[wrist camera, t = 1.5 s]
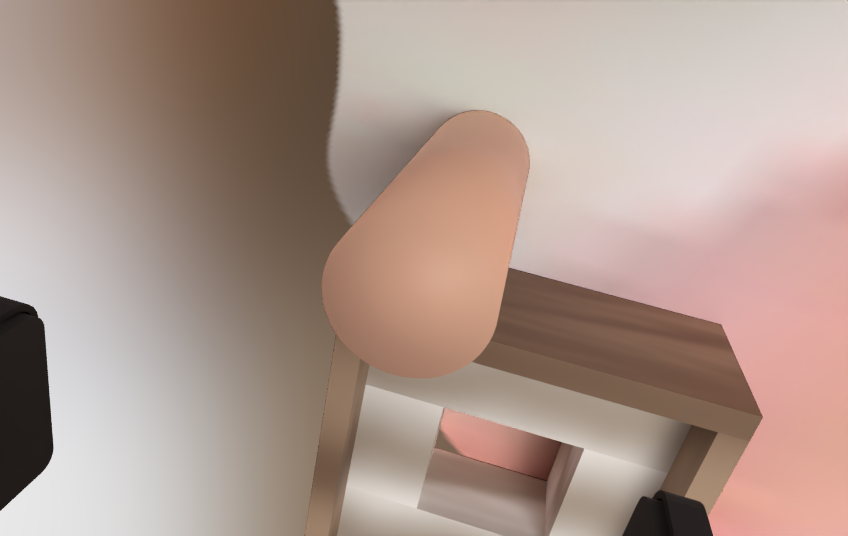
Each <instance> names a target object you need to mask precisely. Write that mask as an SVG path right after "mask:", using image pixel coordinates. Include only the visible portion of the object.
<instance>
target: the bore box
mask: <svg viewBox="0 0 848 536" xmlns="http://www.w3.org/2000/svg"><path fill="white" fill-rule="evenodd" d="M445 408H448V409H451V410H454V411H458V412H461V413H465V414H468V415H471V416H475V417H478V418H482V419H485V420H488V421H492V422H495V423H499V424H502V425H505V426H509V427H512V428H516V429H519V430H522V431H526V432H529V433H533V434H536V435H539V436H543V437H546V438H550V439H553V440H556V441H560V442H562V443H561V446H560V448H559V451H558V453H557V456H556V459H555V461H554V464H553V466H552V469H551V472H550V474H549V477H548V480H547V481H544V480H540V479H537V478H534V477H530V476H527V475H524V474H520V473H517V472H514V471H511V470H507V469H504V468H501V467H497V466H494V465H491V464H487V463H484V462H481V461H477V460H474V459H471V458H467V457H464V456H461V455H457V454H454V453H451V452H447V451H444V450H441V449H438V448H434V446H435V443H436V439H437V435H438V431H439V428H440V424H441V420H442V416H443V413H444V409H445ZM762 418H763V417H762V414H761V412H760V410H759V408H758V405H757V403H756V401H755V399H754V396H753V394H752V392H751V390H750V388H749V385H748V383H747V381H746V379H745V376H744V374H743V372H742V370H741V368H740V365H739V363H738V361H737V359H736V356H735V354H734V352H733V350H732V347H731V345H730V343H729V341H728V339H727V336H726V334H725V332H724V330H723V327H722V325H720V324H716V323H712V322H709V321H705V320H701V319H697V318H694V317H690V316H686V315H682V314H679V313H675V312H671V311H668V310H664V309H660V308H656V307H653V306H649V305H645V304H641V303H638V302H634V301H630V300H627V299H623V298H619V297H615V296H612V295H608V294H604V293H600V292H597V291H593V290H589V289H585V288H582V287H578V286H574V285H571V284H567V283H563V282H559V281H556V280H552V279H548V278H544V277H541V276H537V275H533V274H530V273H526V272H522V271H518V270H515V269H511V268H508V273H507V278H506V282H505V287H504V292H503V297H502V301H501V306H500V311H499V316H498V321H497V325H496V328H495V331H494V334H493V336H492V338H491V340H490V342H489V343H488V345H487V346H486V348H485V349H484V350H483V352H482V353H481V354H480V355H479V356H478V357H477V358H476V359H475V360H473V361H472V362H471V363H469V364H468V365H467V366H465V367H463V368H461V369H459V370H457V371H455V372H453V373H450V374H447V375H443V376H439V377H434V378H407V377H401V376H397V375H392V374H390V373H387V372H384V371H381V370H379V369H377V368H375V367H373V366H371V365H369V364H368V363H366V362H364V361H363V360H361V359H360V358H359V357H358V356H356V355H355V354H354V353H353V352H352V351H350V350H349V349H348V348H347V347H346V346H345V345H344V343H343V342H342V341H341V340H340V339H339V337H338V336H337V334H336V338H335V344H334V350H333V357H332V363H331V370H330V376H329V382H328V389H327V396H326V401H325V408H324V414H323V420H322V427H321V433H320V440H319V446H318V452H317V459H316V466H315V471H314V478H313V484H312V491H311V497H310V503H309V510H308V517H307V522H306V529H305V535H304V536H622V535H623V533H624V531H625V529H626V526H627V524H628V522H629V520H630V518H631V516H632V514H633V512H634V509H635V507H636V505H637V503H638V501H639V500H640V498H641V497H642V496H646V497H649V498H653V496H654V495H655V493H656V492H657V491H659V490H663V491H666V492H669V493H673V494H676V495H680V496H683V497H687V498H690V499H693V500H697V501H700V502H701V503H702V504H703V505H704V507H705V510H706V513H707V516H708V515H709V513H710V511H711V510H712V508H713V506H714V504H715V502H716V501H717V499H718V497H719V495H720V493H721V492H722V490H723V488H724V486H725V484H726V483H727V481H728V479H729V477H730V475H731V474H732V472H733V470H734V468H735V466H736V465H737V463H738V461H739V459H740V457H741V456H742V454H743V452H744V450H745V448H746V447H747V445H748V443H749V441H750V439H751V438H752V436H753V434H754V432H755V430H756V429H757V427H758V425H759V423H760V421H761V420H762Z"/></svg>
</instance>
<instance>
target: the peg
mask: <svg viewBox="0 0 848 536" xmlns="http://www.w3.org/2000/svg"><path fill="white" fill-rule="evenodd" d="M529 166H530V158H529V151H528V147H527V144H526V142H525V140H524V138H523V136H522V134H521V133H520V131H519V130H518V129H517V128H516V127H515V126H514V125H513V124H512V123H511V122H510V121H509V120H507V119H505V118H504V117H502V116H500V115H498V114H495V113H492V112H488V111H479V110H475V111H467V112H463V113H460V114H458V115H455V116H454V117H452V118H450V119H449V120H447V121H446V122H445V123H444V124H443V125H442V126H441V127H440V128H439V129H438V130H437V131H436V132H435V133H434V134H433V136H432V137H431V138H430V139H429V140H428V141H427V142H426V143H425V145H424V146H423V147H422V148H421V149H420V150H419V151H418V152H417V154H416V155H415V156H414V157H413V158H412V159H411V160H410V161H409V163H408V164H407V165H406V166H405V167H404V168H403V169H402V170H401V172H400V173H399V174H398V175H397V176H396V177H395V178H394V179H393V181H392V182H391V183H390V184H389V185H388V186H387V187H386V188H385V190H384V191H383V192H382V193H381V194H380V195H379V196H378V197H377V199H376V200H375V201H374V202H373V203H372V204H371V205H370V206H369V208H368V209H367V210H366V211H365V212H364V213H363V214H362V215H361V217H360V218H359V219H358V220H357V221H356V222H355V223H354V224H353V226H352V227H351V228H350V229H349V230H348V231H347V232H346V234H345V235H344V236H343V237H342V238H341V239H340V240H339V241H338V243H337V244H336V245H335V247H334V248H333V250H332V251H331V253H330V255H329V257H328V259H327V261H326V264H325V267H324V270H323V275H322V285H321V290H322V300H323V305H324V309H325V312H326V315H327V318H328V320H329V322H330V324H331V326H332V328H333V330H334V331H335V333H336V334H337V336H338V337H339V339H340V340H341V341H342V342H343V343H344V345H345V346H346V347H347V348H348V349H349V350H350V351H352V352H353V353H354V354H355V355H356V356H358V357H359V358H360V359H361V360H363V361H364V362H366V363H368V364H369V365H371V366H373V367H375V368H377V369H379V370H381V371H384V372H387V373H390V374H392V375H397V376H401V377H407V378H434V377H439V376H443V375H447V374H450V373H453V372H455V371H457V370H459V369H461V368H463V367H465V366H467V365H468V364H469V363H471V362H472V361H473V360H475V359H476V358H477V357H478V356H479V355H480V354H481V353H482V352H483V350H484V349H485V348H486V346H487V345H488V343H489V342H490V340H491V338H492V336H493V334H494V331H495V328H496V325H497V321H498V316H499V311H500V306H501V301H502V297H503V292H504V287H505V282H506V278H507V273H508V268H509V263H510V258H511V254H512V249H513V244H514V239H515V235H516V230H517V225H518V220H519V215H520V211H521V206H522V201H523V196H524V192H525V187H526V182H527V177H528V172H529Z"/></svg>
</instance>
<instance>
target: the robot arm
mask: <svg viewBox="0 0 848 536" xmlns="http://www.w3.org/2000/svg"><path fill="white" fill-rule="evenodd" d="M50 410H51V409H50V398H49V384H48V370H47V356H46V343H45V330H44V324H43V321H42V320H41V319H40V318H38V315H37V311H36V310H35V309H34V307H32V306H30V305H28V304H24V303H21V302H18V301H14V300H10V299H7V298H4V297H1V296H0V510H2V509H3V508H4V507H5V506H6V505H7V504H8V503H9V502H10V501H11V500H12V499H14V498H15V497H16V496H17V495H18V494H19V493H20V492H21V491H22V490H23V489H24V488H25V487H26V486H28V484H30V483H31V482H32V481H33V480H34V479H35V478H36V477H37V476H38V475H39V474H41V473H42V471H43V470H44V469H45V468H46V466H47V465H48V464H49V462H50V459H51V457H52V453H53V436H52V423H51V411H50ZM622 536H713V534H712V530H711V527H710V523H709V520H708V516H707V513H706V510H705V507H704V505H703V504H702V503H701V502H700V501H697V500H693V499H690V498H687V497H683V496H680V495H676V494H673V493H669V492H666V491H663V490H659V491H657V492H656V493H655V495H654V496H653V498H649V497H646V496H642V497H641V498H640V500H639V501H638V503H637V505H636V507H635V509H634V512H633V514H632V516H631V518H630V520H629V522H628V524H627V526H626V529H625V531H624V533H623V535H622Z"/></svg>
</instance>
